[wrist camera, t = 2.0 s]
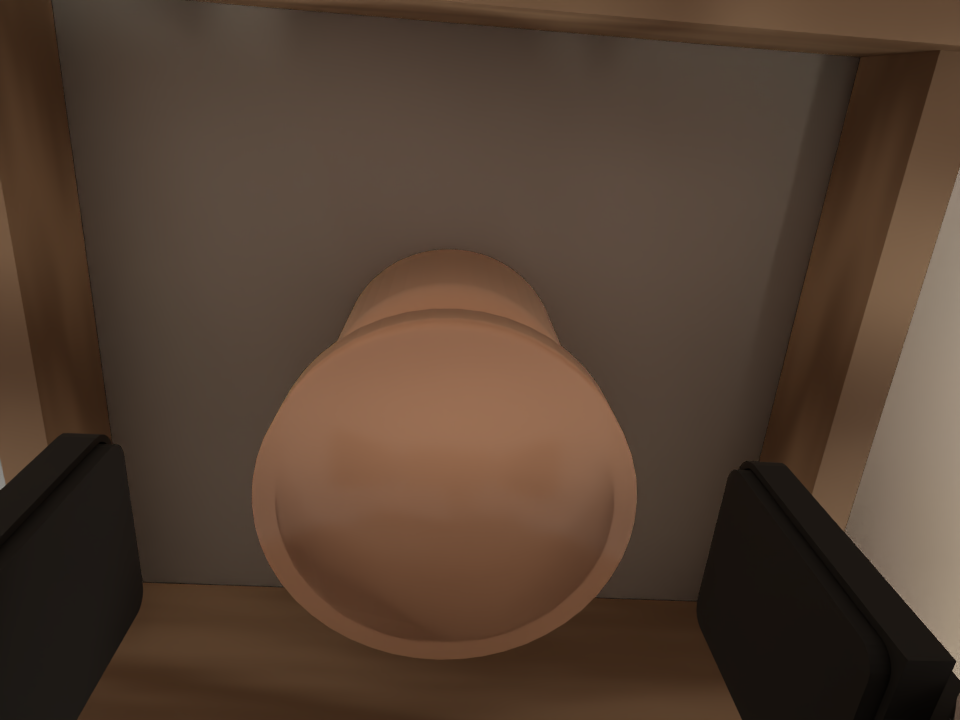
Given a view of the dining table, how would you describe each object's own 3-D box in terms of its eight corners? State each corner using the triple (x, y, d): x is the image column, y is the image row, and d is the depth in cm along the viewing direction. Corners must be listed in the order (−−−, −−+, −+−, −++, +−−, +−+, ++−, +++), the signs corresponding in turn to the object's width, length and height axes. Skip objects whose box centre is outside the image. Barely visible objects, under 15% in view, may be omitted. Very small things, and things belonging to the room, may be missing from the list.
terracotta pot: (553, 462, 21) (608, 664, 14) (330, 451, 21) (260, 654, 13) (581, 242, 18) (667, 342, 11) (328, 226, 18) (240, 318, 11)
